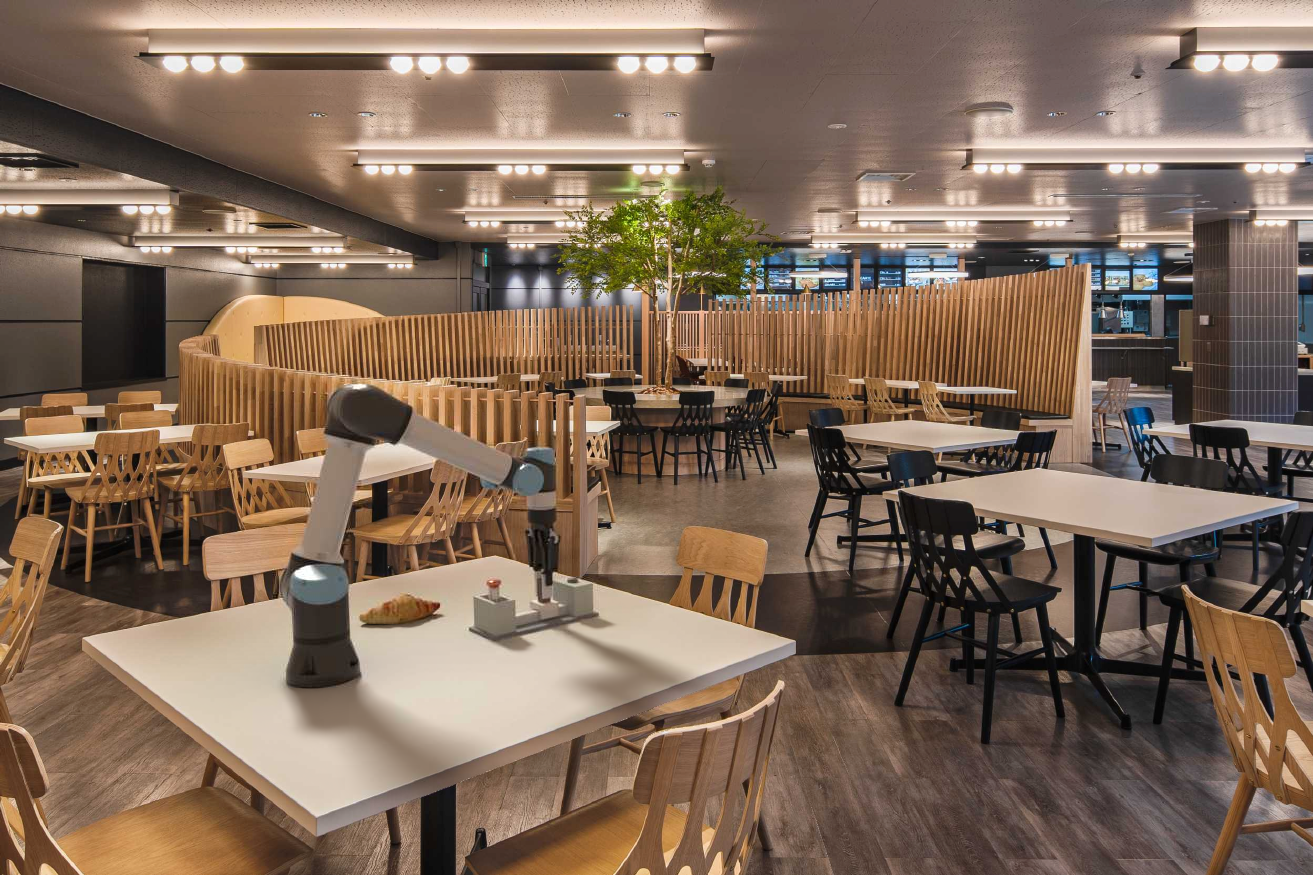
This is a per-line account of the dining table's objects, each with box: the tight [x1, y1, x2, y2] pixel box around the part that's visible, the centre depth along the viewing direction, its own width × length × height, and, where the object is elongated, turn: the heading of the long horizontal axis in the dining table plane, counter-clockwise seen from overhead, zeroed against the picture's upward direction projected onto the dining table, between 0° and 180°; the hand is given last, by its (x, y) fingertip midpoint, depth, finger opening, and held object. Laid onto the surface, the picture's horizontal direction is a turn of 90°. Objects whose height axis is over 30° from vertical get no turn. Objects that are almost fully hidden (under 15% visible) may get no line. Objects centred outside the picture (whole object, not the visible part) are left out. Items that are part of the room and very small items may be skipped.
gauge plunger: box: [486, 578, 502, 603], centre depth 228 cm, size 4×4×9 cm
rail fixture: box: [468, 576, 600, 642], centre depth 236 cm, size 32×12×10 cm, turn 131°
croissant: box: [358, 593, 441, 625], centre depth 241 cm, size 21×10×8 cm, turn 120°
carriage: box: [529, 578, 559, 620], centre depth 238 cm, size 5×6×10 cm
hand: (544, 596), depth 238 cm, fingers closed on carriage, 2 cm apart
